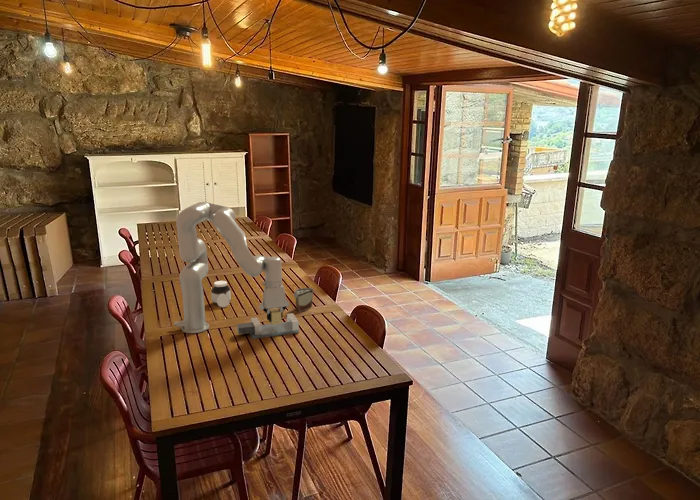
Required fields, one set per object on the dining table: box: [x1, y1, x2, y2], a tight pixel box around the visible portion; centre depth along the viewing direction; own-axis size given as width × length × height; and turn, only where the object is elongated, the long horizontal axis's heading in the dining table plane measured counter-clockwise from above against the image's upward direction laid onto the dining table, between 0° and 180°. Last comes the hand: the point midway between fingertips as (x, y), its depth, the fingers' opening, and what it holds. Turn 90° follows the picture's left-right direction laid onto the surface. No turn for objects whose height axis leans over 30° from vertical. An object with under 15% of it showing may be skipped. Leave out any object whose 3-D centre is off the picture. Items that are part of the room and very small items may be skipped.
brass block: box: [270, 308, 282, 325], centre depth 233 cm, size 4×8×6 cm, turn 20°
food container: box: [293, 287, 314, 313], centre depth 263 cm, size 12×6×10 cm, turn 141°
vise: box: [249, 312, 300, 340], centre depth 234 cm, size 22×11×6 cm, turn 110°
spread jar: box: [210, 280, 232, 308], centre depth 267 cm, size 12×11×12 cm
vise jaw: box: [236, 316, 262, 335], centre depth 230 cm, size 10×11×4 cm
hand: (274, 319), depth 234 cm, fingers closed on brass block, 4 cm apart
